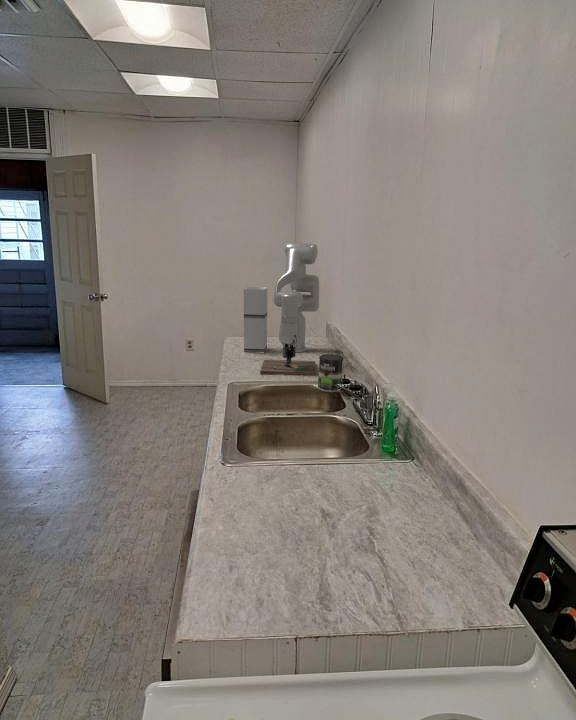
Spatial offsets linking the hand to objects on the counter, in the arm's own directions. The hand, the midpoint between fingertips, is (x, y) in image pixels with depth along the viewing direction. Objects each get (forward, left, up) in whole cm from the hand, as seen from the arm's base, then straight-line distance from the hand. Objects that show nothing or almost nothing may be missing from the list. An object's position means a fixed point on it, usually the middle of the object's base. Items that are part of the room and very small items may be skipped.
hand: (288, 356), depth 250 cm
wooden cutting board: (0, 0, -6) cm, 6 cm away
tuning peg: (+3, +2, -4) cm, 6 cm away
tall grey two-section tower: (-38, -20, -6) cm, 43 cm away
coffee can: (+31, +19, -6) cm, 37 cm away
